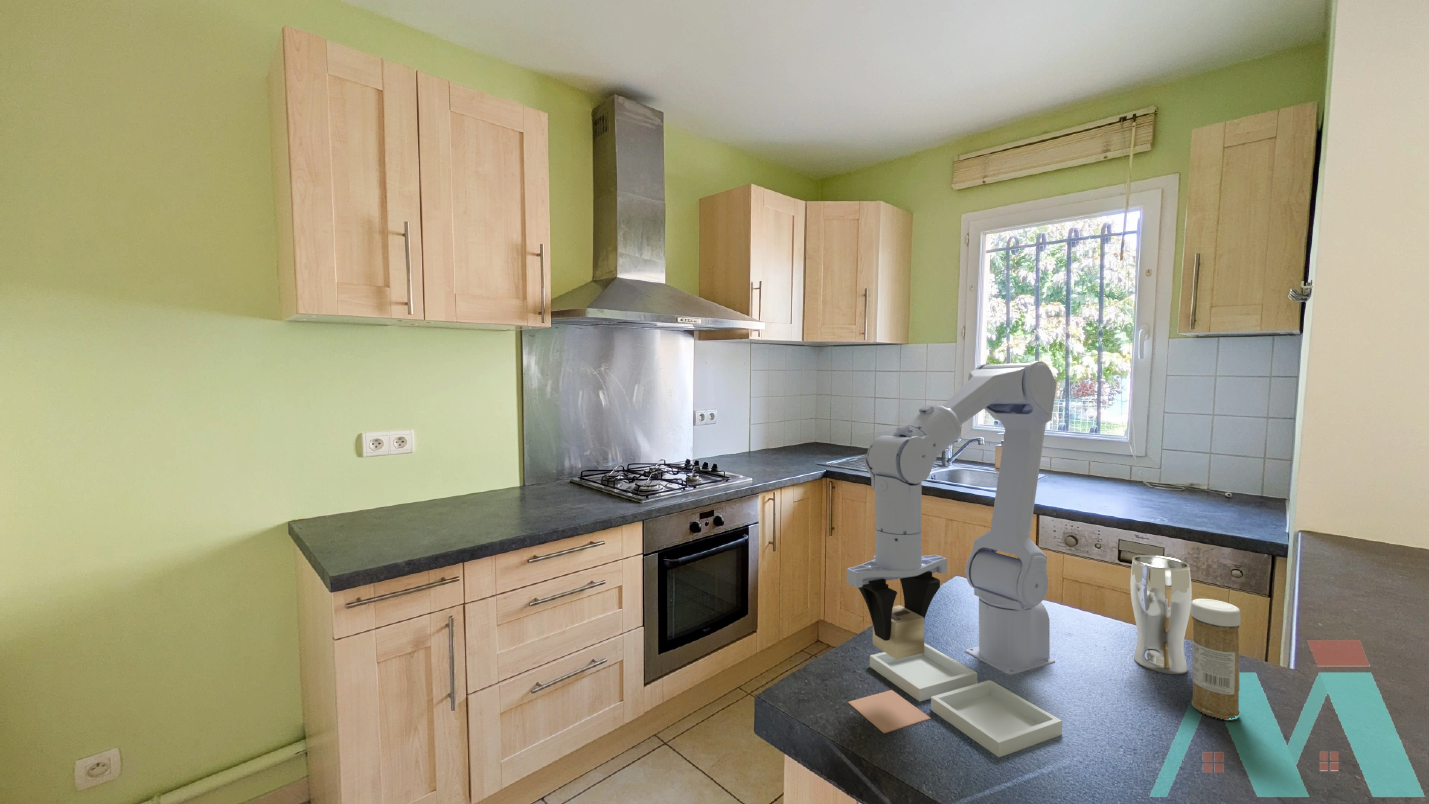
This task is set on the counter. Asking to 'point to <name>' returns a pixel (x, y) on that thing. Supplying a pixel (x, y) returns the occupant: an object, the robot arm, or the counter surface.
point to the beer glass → (1161, 611)
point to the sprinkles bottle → (1215, 658)
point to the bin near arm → (924, 673)
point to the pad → (888, 711)
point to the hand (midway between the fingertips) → (898, 633)
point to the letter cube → (903, 634)
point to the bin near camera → (996, 717)
